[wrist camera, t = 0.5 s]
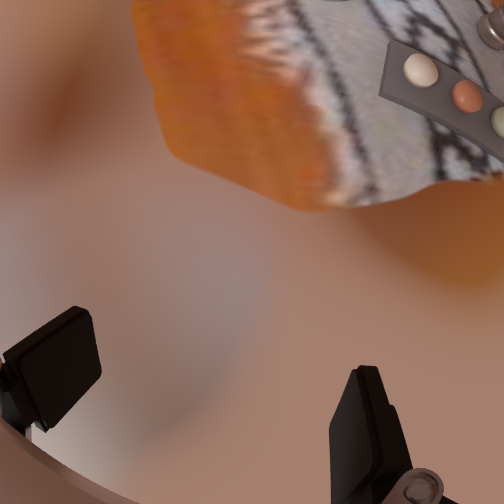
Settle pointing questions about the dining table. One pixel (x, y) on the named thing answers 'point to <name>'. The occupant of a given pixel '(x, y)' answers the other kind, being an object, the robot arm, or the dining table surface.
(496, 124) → the key sage
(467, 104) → the key terracotta
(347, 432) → the robot arm
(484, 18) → the plastic bottle
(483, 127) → the button board
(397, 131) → the dining table surface
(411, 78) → the key cream
